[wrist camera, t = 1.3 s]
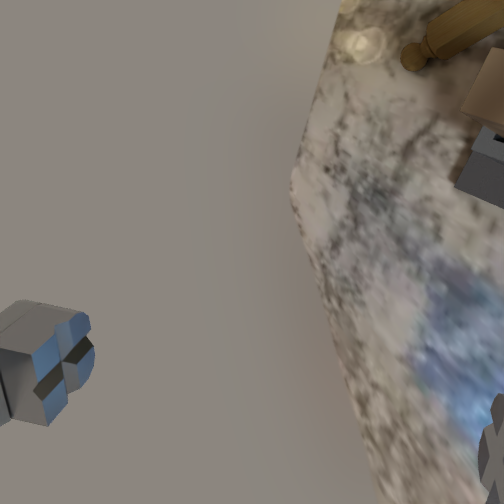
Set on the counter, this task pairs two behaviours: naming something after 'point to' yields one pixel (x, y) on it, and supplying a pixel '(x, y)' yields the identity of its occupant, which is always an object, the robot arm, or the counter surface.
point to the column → (488, 94)
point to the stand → (485, 169)
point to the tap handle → (455, 31)
